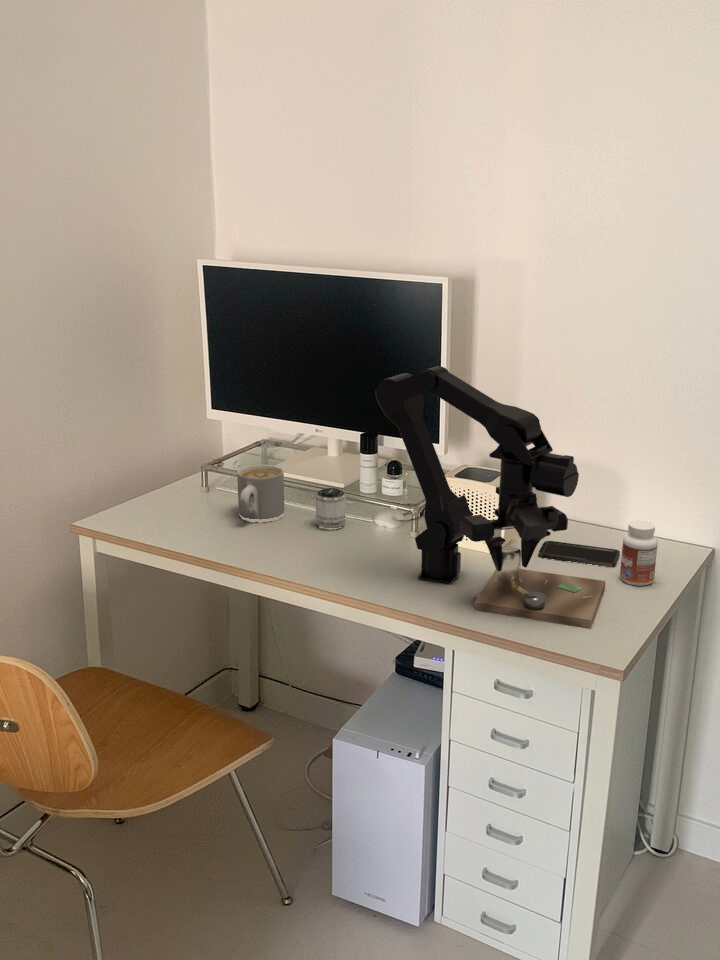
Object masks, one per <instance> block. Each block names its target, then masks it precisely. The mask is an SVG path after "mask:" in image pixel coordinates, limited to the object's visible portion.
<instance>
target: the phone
mask: <svg viewBox="0 0 720 960" xmlns="http://www.w3.org/2000/svg"><path fill="white" fill-rule="evenodd" d="M620 552H621V551H620V550H618V549H616V548H615V549H614V548H607V547H599V546H594V545H593V546H592V545H586V544H585V545H583V544H576V543H569V542H563V541H561V542H560V541H553V540H546V541H544V542H543V544H542V545H541V546H540V549H539V551H538V558H540V557H541V559H544V558H547V559H546V560H551V559H554V560H553V561H559V560H561V561H560V562H566V561H571V562H570V563H573V562H578V563H577V564H580V563H585V564H584V565H587V564H592V565H591V566H595V565H598V566H597V567H602V566H605V568H609V567H613V568H615V566H616V567H617V564H618V561H619V559H620V554H621V553H620Z"/></svg>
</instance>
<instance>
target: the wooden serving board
mask: <svg viewBox="0 0 720 960" xmlns="http://www.w3.org/2000/svg"><path fill="white" fill-rule="evenodd" d="M495 575H497V570H496V569H495V570H494V572H493V573H492V575H491V576H490V578H489V580H488V581H487V583H486V584H485V586H484V587H483V589H482V591H481V592H480V594H479V595H478V597H477V598H476V600H475V601H474V611H478V612H485V613H492V614H499V615H504V616H510V617H517V618H523V619H529V620H530V619H531V620H536V621H542V622H550V623H555V624H561V625H568V626H573V627H574V626H575V627H580V628H586V629H591V628H592V625H593V623H594V619H595V617H596V614H597V612H598V609H599V606H600V604H599V603H601V600H602V598H603V595H604V593H603V592H605V590H604V589H606V580H600V579H594V578H587V577H586V578H585V577H580V576H572V575H566V574H558V573H553V572H544V571H538V570H531V569H523V568H520V577H519V584H518V586H519V587H521V588H522V589H524V590H526V591H527V592H539V593H542V594H544V595H545V596H546V599H545V607H544V608H541V609H530V608H527V607H526V606H525V605H524V597H522V596H521V595H519V594H517V593H516V592H514V591H513V590H511V589H510V588H508V587H507V586H502V585H500V584H498V583H497V579H496V578H495Z"/></svg>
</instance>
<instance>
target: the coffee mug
mask: <svg viewBox="0 0 720 960" xmlns="http://www.w3.org/2000/svg"><path fill="white" fill-rule="evenodd" d="M284 474H285V473H284V470H283V468H281V467H279V466H275V465H270V464H254V465H253V464H252V465H248V466H245V467H242V468H240V469H238V470H237V474H236V475H237V498H238V502H237V503H238V515H239V514H240V515H241V516H242V517H244V518H249V519H260V520H261V519H269V518H274V517H278V516H280V515H281V514H283V513H284V511H285V483H284V482H285V478H284Z"/></svg>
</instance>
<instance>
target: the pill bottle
mask: <svg viewBox="0 0 720 960" xmlns="http://www.w3.org/2000/svg"><path fill="white" fill-rule="evenodd" d="M627 529H628V530H627V531H628V532H627V533H626V534H625V535H624V536H623V539H622V547H621V548H622V551H621V558H620V559H621V561H620V569H619V570H620V571H619V578H620V579H621V580H622V581H623V582H624V583H626V584H628V585H632V586H637V587H640V586H641V587H643V586H648V585H650V584H652V583H653V582H654V581H655V580H654V579H655V574H656V564H657V555H658V554H657V553H658V545H659V542H658V538H657V537H656V536H655V535H654V534H655V531H656V525H655V524H654V523H652V522H651V521H648V520H644V519H643V520H641V519H634V520H631V521H629V523H628V527H627Z"/></svg>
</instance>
